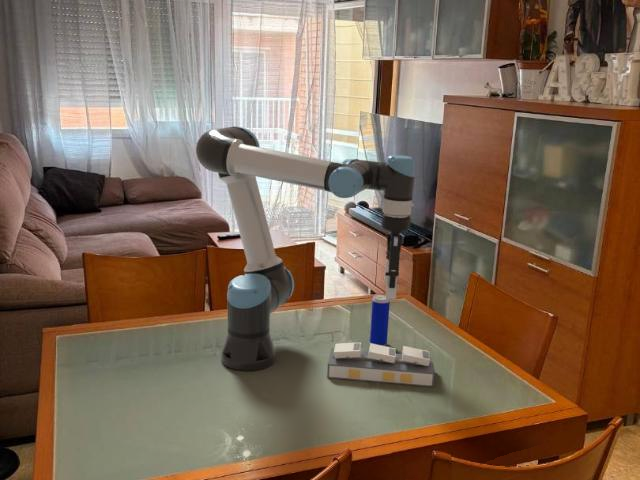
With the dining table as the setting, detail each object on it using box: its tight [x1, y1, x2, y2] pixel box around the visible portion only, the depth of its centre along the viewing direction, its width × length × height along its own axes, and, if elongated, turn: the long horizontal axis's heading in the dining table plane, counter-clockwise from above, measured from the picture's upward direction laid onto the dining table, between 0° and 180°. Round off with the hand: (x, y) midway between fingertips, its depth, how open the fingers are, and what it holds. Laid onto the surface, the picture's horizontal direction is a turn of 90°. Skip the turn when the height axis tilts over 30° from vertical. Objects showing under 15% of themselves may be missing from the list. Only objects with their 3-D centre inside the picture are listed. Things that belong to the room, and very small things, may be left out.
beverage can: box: [369, 294, 391, 346], centre depth 185 cm, size 5×5×15 cm
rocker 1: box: [333, 342, 363, 359], centre depth 167 cm, size 7×6×2 cm
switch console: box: [326, 348, 436, 388], centre depth 167 cm, size 28×10×5 cm, turn 83°
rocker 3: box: [401, 345, 431, 366], centre depth 165 cm, size 7×6×2 cm
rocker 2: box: [368, 342, 397, 363], centre depth 166 cm, size 7×6×2 cm
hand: (389, 290), depth 169 cm, fingers open, 13 cm apart
